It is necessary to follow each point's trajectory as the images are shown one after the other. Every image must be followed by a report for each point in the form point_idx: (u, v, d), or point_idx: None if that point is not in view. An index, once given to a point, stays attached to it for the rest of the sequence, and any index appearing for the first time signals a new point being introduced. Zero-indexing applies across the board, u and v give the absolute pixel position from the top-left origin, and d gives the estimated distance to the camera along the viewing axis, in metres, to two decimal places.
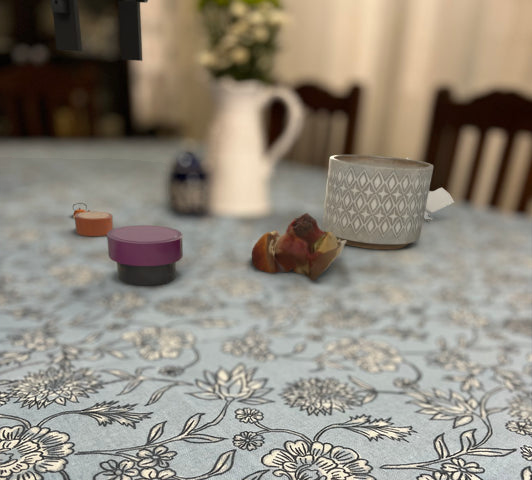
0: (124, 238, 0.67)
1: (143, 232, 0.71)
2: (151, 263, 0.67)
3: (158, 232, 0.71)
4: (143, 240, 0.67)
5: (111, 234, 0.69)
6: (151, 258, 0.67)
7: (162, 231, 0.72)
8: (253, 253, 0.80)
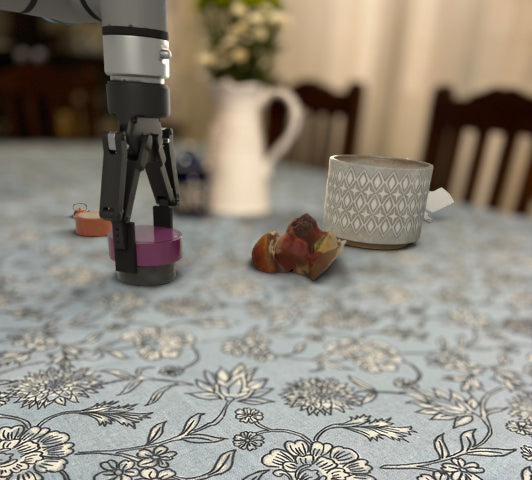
0: None
1: (143, 232, 0.71)
2: (151, 263, 0.67)
3: (158, 232, 0.71)
4: (143, 240, 0.67)
5: (111, 234, 0.69)
6: (151, 258, 0.67)
7: (162, 231, 0.72)
8: (253, 253, 0.80)
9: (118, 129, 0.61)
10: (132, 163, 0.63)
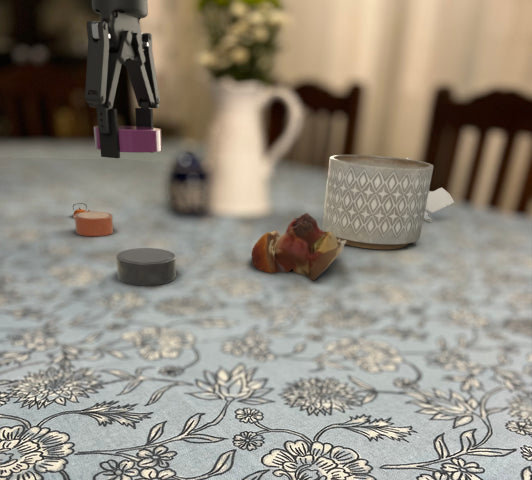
0: None
1: (126, 127, 0.79)
2: (132, 149, 0.76)
3: (139, 127, 0.80)
4: (125, 129, 0.76)
5: (97, 126, 0.78)
6: (133, 144, 0.76)
7: (143, 127, 0.81)
8: (253, 253, 0.80)
9: None
10: (114, 55, 0.72)
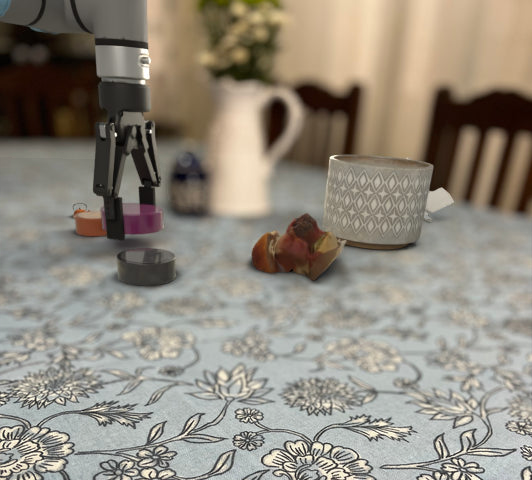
0: None
1: (130, 207, 0.85)
2: (136, 232, 0.82)
3: (143, 207, 0.86)
4: (129, 213, 0.81)
5: (103, 209, 0.83)
6: (136, 227, 0.81)
7: (146, 207, 0.86)
8: (253, 253, 0.80)
9: (108, 121, 0.75)
10: (120, 149, 0.77)
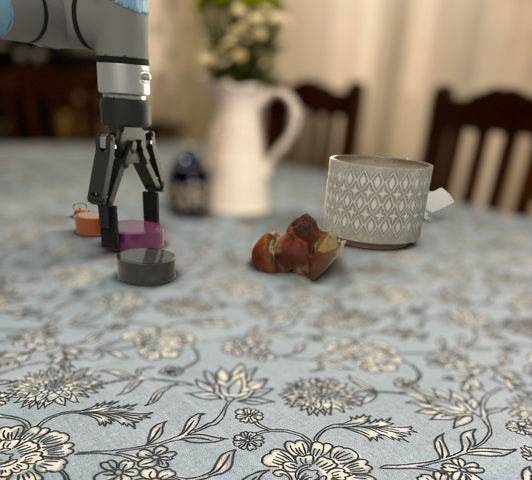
0: None
1: (131, 225, 0.86)
2: None
3: (144, 225, 0.87)
4: (130, 231, 0.83)
5: None
6: (138, 246, 0.83)
7: (147, 224, 0.88)
8: (253, 253, 0.80)
9: (109, 135, 0.76)
10: (118, 160, 0.78)
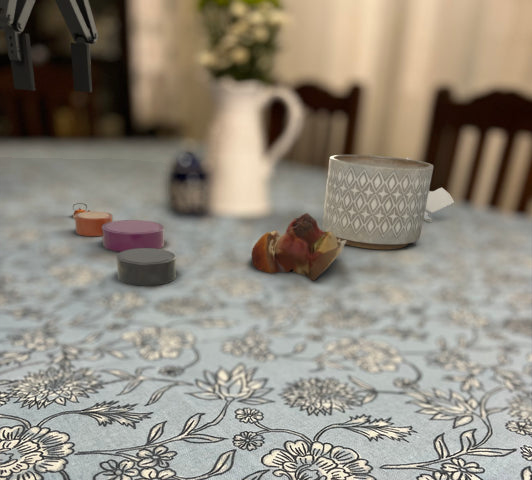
0: (115, 230, 0.83)
1: (131, 225, 0.86)
2: None
3: (144, 225, 0.87)
4: (130, 231, 0.83)
5: (105, 227, 0.85)
6: (138, 246, 0.83)
7: (147, 224, 0.88)
8: (253, 253, 0.80)
9: None
10: None
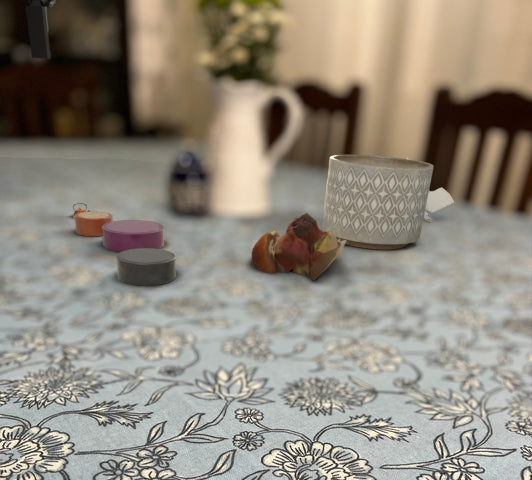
0: (115, 230, 0.83)
1: (131, 225, 0.86)
2: None
3: (144, 225, 0.87)
4: (130, 231, 0.83)
5: (105, 227, 0.85)
6: (138, 246, 0.83)
7: (147, 224, 0.88)
8: (253, 253, 0.80)
9: None
10: None
